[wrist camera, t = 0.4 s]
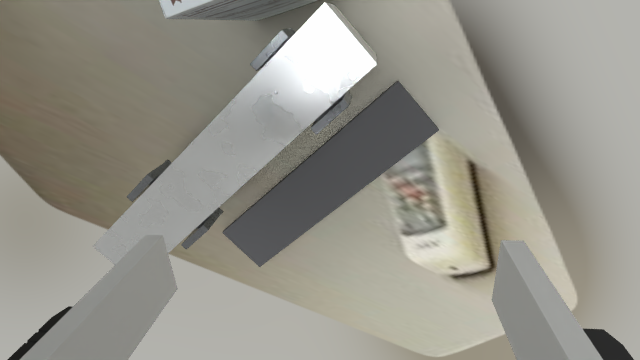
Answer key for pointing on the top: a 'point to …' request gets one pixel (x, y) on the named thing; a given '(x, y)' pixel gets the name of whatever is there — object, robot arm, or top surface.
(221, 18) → the supplement box
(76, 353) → the robot arm
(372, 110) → the mat
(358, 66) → the rail
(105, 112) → the top surface
